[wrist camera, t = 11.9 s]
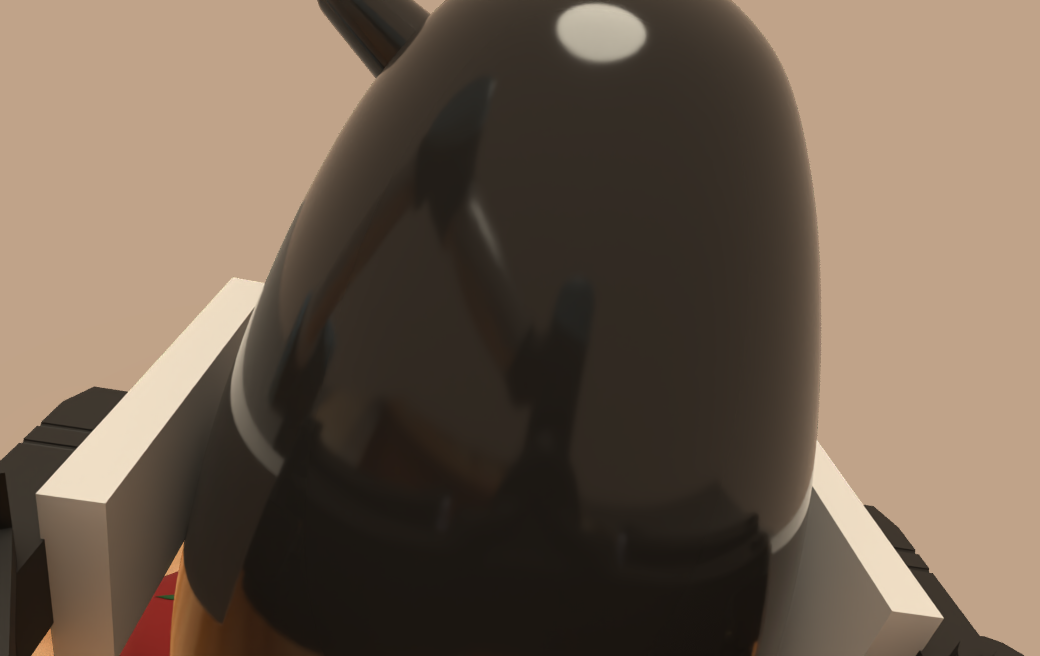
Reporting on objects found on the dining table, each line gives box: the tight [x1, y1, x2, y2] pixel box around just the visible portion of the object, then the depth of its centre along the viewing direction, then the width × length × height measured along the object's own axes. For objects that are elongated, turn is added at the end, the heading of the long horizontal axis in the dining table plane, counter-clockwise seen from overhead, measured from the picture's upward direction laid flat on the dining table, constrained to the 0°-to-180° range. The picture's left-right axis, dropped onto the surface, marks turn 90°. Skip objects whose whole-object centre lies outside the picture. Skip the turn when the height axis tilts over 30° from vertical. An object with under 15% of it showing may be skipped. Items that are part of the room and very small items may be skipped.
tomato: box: [119, 572, 178, 656], centre depth 31 cm, size 8×8×7 cm
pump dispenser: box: [169, 0, 821, 656], centre depth 12 cm, size 10×10×15 cm
